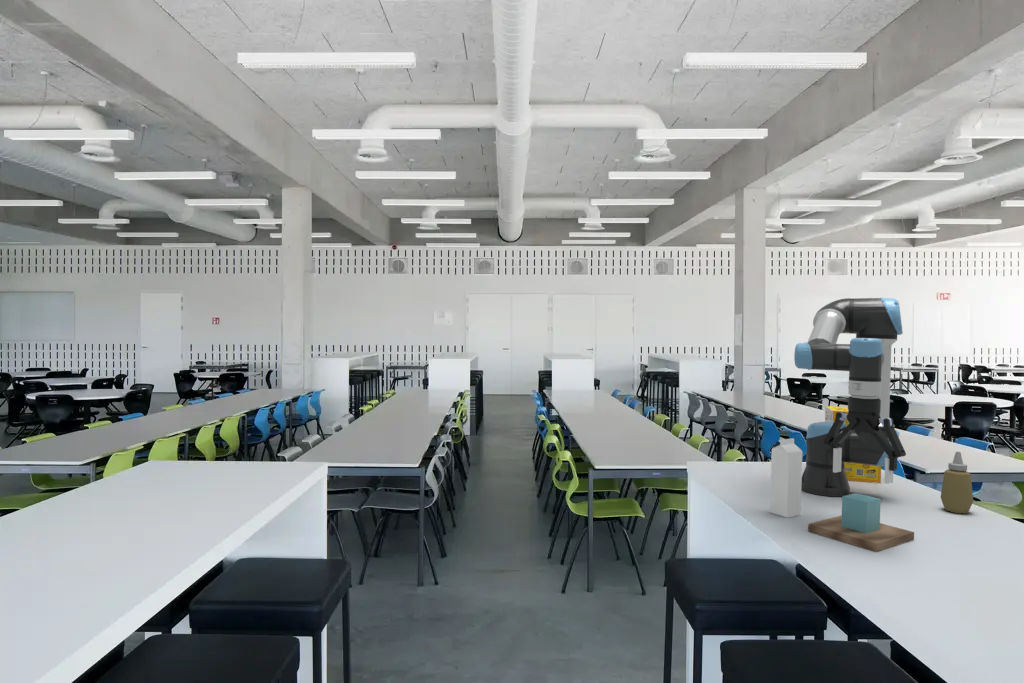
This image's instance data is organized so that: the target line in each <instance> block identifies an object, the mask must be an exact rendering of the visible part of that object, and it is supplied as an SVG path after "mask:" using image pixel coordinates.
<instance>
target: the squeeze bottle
mask: <svg viewBox="0 0 1024 683" xmlns="http://www.w3.org/2000/svg"><path fill="white" fill-rule="evenodd" d="M963 462H964V461H963V457H962V453H961V452H960V451H955V453H954V457H953V459H952V462H948V465H947V468H948V469H946V470H944V472H943V477H942V478H943V479H942V486H941V491H940V500H941V502H942V507H943V509H944V510H945V511H947V512H949V511H950V513H953V512H954V513H955V514H961V513H963V515H964V514H968V513H969V512H970V509H972V508H971V507H972V505H973V503H974V495H973V487H972V486H973V484H972V474H971V473H970V472H968V465H967V464H965V463H963Z"/></svg>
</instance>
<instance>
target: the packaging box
mask: <svg viewBox="0 0 1024 683" xmlns="http://www.w3.org/2000/svg"><path fill="white" fill-rule="evenodd" d="M837 412H845V413H846V414H848V412H849V411H848V406H836V405H835V406H833V405H832V406H831V405H825V406H824V422H829V421H835V418H836V413H837ZM844 422H845V423H846V426H847V425H848V424H849V422H848V420H847V419H846V420H845V421H844ZM844 469H845V473H846V477H847V480H848V482H849V481H850V482H860V481H862V482H863V483H872V482H877V484H881V482H882V480H881V479H882V466H875V465H866V464H857V463H848V462H845V467H844ZM862 482H861V483H862Z"/></svg>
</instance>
